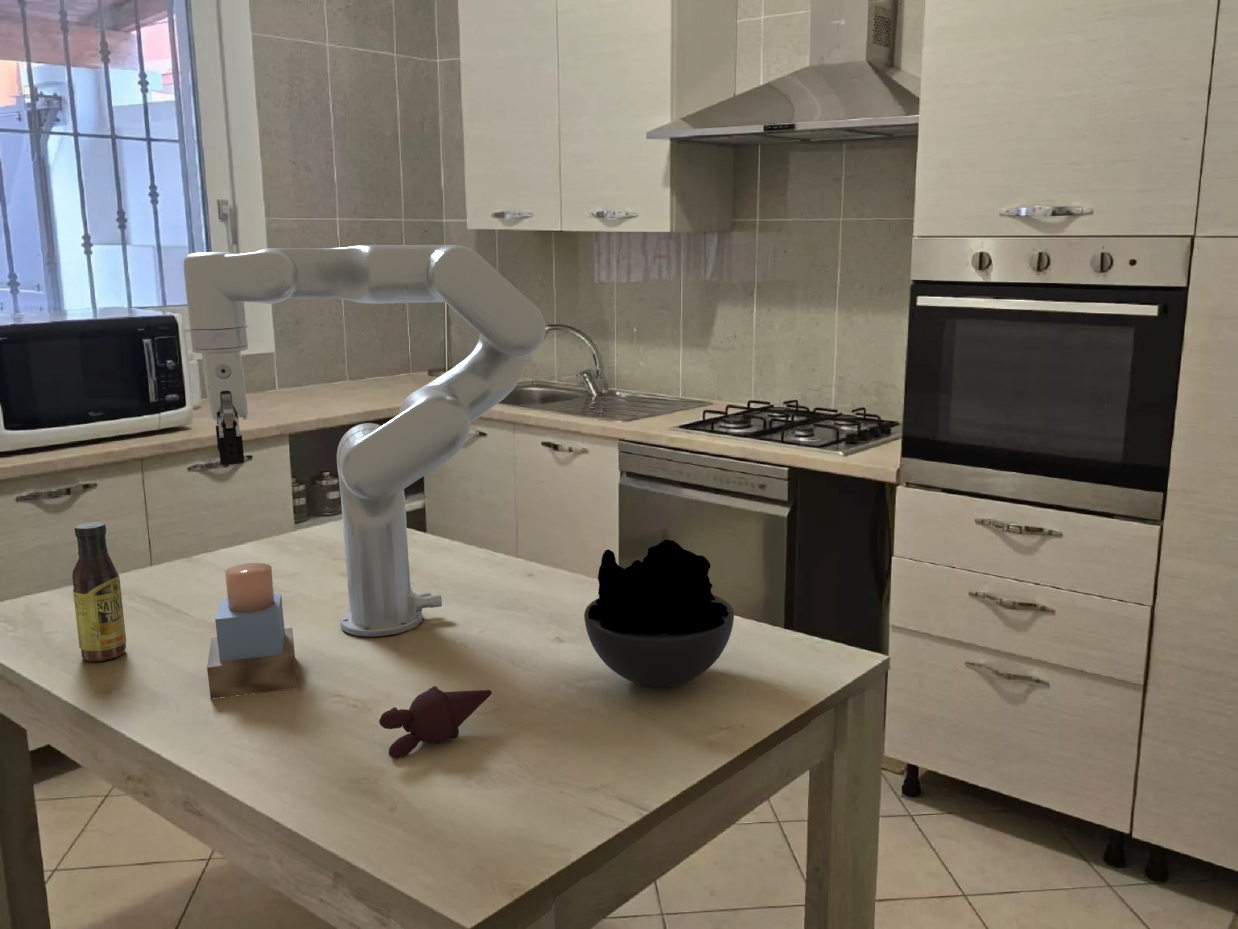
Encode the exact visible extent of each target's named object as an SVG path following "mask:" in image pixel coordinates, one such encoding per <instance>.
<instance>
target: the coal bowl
mask: <svg viewBox="0 0 1238 929" xmlns="http://www.w3.org/2000/svg"><path fill="white" fill-rule="evenodd" d="M647 550H648V551H647V554H646V556H645V557H643V559H642V561H641V560H639V559H636V560H634V561H633V562H632V563H631V564H630V565H629V566H627V567H625V568H624V567H622V566H620V565H619V564H618V563H617V561H616V556H615V555H616V554H615V553H614V551H612V550H610V549H609V548H608V549H606V550H604V552H603V554H602V555H601V561H600V562H601V563H600V566H599V569H598V573H597V574H598V575H597V581H598V592H597V593H598V598H596V599H594V600H593V601H591V602H590V603H589V604H588V605H587V606H586V608H585V610H584V614H583V616H584V625H585V629H586V632H587V636H588V638H589V641H590V643H591V646H592V647H593V649H594V651H595V652H596V654H597V655H598V657H599V658H600V660H601V661H602V662H603V663H604V665H606V666H607V667H608V668H609V669H610V670H611V671H613V672H614V673H615V674H617V675H619V676H620V677H621V678H623V679H625V680H627V681H629V682H632V683H634V684H636V685H640V686H645V687H651V688H652V687H653V688H667V687H668V688H669V687H674V686H679V685H682V684H684V683H688V682H690V681H693V679H696V678H697V677H699V676H700V675H702V674H704V673H705V672H706V671H708V670H709V669H710V668H711V667H712V666H713V665H714V663H716V661H718V659H719V658H720V657H721V655H722V654H723V652H724V650H725V649H726V646H727V644H728V642H729V640H730V638H731V634H732V631H733V626H734V620H735V612H734V609H733V607H732V605H731V604H730V603H729V602H728V601H726V600H725V599H723V598H722V597H720V596H718V595H715V594H713V593H712V588H713V584H712V583H711V582H710V577H709V575H708V574H709V571H710V569H711V566H712V565H711V563H710V561H709V560H708V559H707V558H706V556H704V555H698V554H696V553H694V552H692V551H690V550H686V549H684V548H683V547H682V546H681V545H680V544H679V543H678V542H677V541H675V540H672V539H664V540H662V541H661V542H659V543H658V544H656V545H653V546H651V547H648V549H647Z"/></svg>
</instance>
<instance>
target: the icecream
mask: <svg viewBox="0 0 1238 929" xmlns="http://www.w3.org/2000/svg"><path fill="white" fill-rule="evenodd" d="M492 694H493V693H492V690H491V689H478V690H477V689H476V690H473V689H472V690H455V691H454V690H451V691H442V690H441V689H439V688H438V686H436V685H433V686H432V687H430V688H429V689H428V690H425V691H423V692H422V693H420V694H418V695H417V696H416V697H415V698H414V699H413V701H412V702H411V704H410V707H409V709H406V708H405V709H403V708H401V709H398V708H397V707H395V706H394V707H392V708H391V709H390V710H387V711H385V712H383V713H382V714H381V715H380V719H379V721H378V722H379V725H380V726H381V727H382V728H384V729H387V730H394V729H401V728H403V730H404V731H405V732H406V733H407V734H404V735H403V736H400V737H398V738H397V739H396V740H395V741H394V742H393V743H391V745H390V747H389V748H388V755H389V757H390V758H392V759H401V758H404V757H407V756H408V755H409V754H410V753H411V752H413V750H414V749H416V747H417V746H418V745H419V743H420V742H422V743H425V744H430V745H439V744H442V743H445V742H447V741H448V740H455V739H457V738H458V737H459V733H460V731H459V728H460V726H462V724H463V723H464V722H465V721H466V720H467V719H468V718H469V717H470V716H471V715H472V714H473V713H474V712H475V711H476V710H477V709H478V708H479V707H480V706H481V705H482V704H483V703H484V702H485V701H486V700H488V698H489V697H490V696H492Z"/></svg>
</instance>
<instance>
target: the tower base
mask: <svg viewBox="0 0 1238 929" xmlns="http://www.w3.org/2000/svg"><path fill="white" fill-rule="evenodd" d="M284 629H285V637H284V645H283V652H282V655H275V656H266V657H257V658H248V659H239V660H230V661H221V662H220V659H219V650H218V641H217V636H216V637H211V639H210V645H209V652H208V657H207V658H208V659H207V665H206V670H207V678H208V686H209V696H210V700H211V699H212V700H214V699H213V698H219V699H221V698H220V697H226V698H231V696H234V697H237V696H236V695H241V696H245V695H244V694H248V695H253V693H255V694H261V693H268V692H274V691H283V690H291V689H297V670H296V668H297V667H296V654H295V643H294V633H293V632H294V631H293V627H287V628H284Z"/></svg>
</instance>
